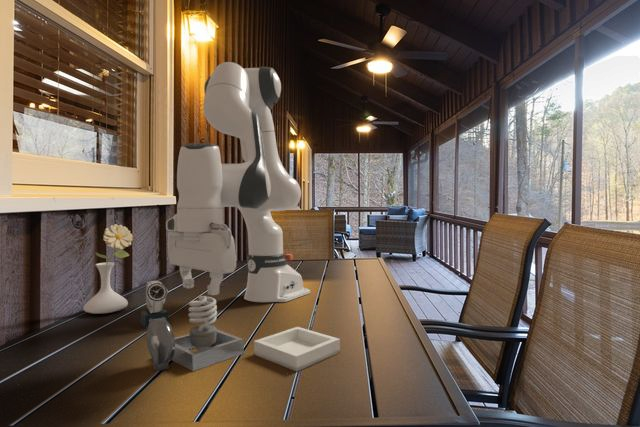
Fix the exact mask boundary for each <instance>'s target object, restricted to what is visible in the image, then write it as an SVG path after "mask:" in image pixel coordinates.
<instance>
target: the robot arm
mask: <svg viewBox="0 0 640 427" xmlns="http://www.w3.org/2000/svg"><path fill="white" fill-rule="evenodd" d="M203 86H204V98H203V103H202V104H203V106H202V109H203V110H202V111H203V115H204V117H205V119H206V120H207V122H208V123H209V125H210V126H211V127H213V128H214V129H215V130H216V131H218V132H219V133H222V134H225V135H227V136H232V137H236V138H238V139H239V141H240V149H241V156H242V160H243V161H244V162H242V163H222V157H221V151H220V150H221V149H220V147H219V145H217V144H214V143H211V142H210V143H209V142H208V143H206V142H205V143H186V144H184V145H182V146H181V147H180V149H179V153H178V154H179V155H178V160H177V168H176V169H177V172H176V188H177V191H178V201H177V205H176V214H174V215H173V216H172V217H170V218H169V219H167V220H165V230H166V231H168V233H167V256H168V258H167V259H168V260H169V263H170V265H173V266H178V267H179V273H180V276H181V279H182V286H183V288H185V289H188V290H189V289H193V288H194V287H195V279H194V278H193V277H192V271H193V270H198V271H203V272H208V273H209V278H211V279H210V283H209V284H208V285H207V289H206V290H207V295H210V296H217V295H219V294H220V286H221V284H222V281H223V278H224V274H230V273H231V274H232V273H234V271H235V270H236V268H237V256H236V255H237V254H236V253H237V252H236V244H235V238H234V237H233V235H232V230H230V228H229V227H228V225H227V224H225V223H224V221H223V220H224V219H223V214H224V212H223V208H225V207H226V208H227V207H228V208H229V207H231V208H237V209H238V210H239V211H240V214H241V215H242V217H243V220H244V222H245V225H246V230H247V244H248V254H247V256H246V257H247V258H246V259H247V260H246V262H247V266H246V267H247V271H248V272H247V274H248V275H247V282H246V288H245V293H244V296H243V299H244V300H246V301H247V302H248V301H249V302H252V303H253V302H254V303H286V302H289V301H292V300H295V299H298V298H301V297H303V296H306V295H309V294H311V290H310V289H309V288H307V287H304V281H303V278H302V275H301V274H300V273H299V272H298V271H297V270H296V269H294V268H293V267H291V266H290V265H289V264H288V261H292V260H293V259H294V257H293V254H291V253H286V254H285V253H284V240H283V239H284V238H283V237H284V232H283V230H282V227H281V226H280V225H279V224H277V223H276V222H275V221H274V219H273V217H272V213H271V212H282V211H287V210H292V209H294V208H296V207H297V206H298V204H299V203H300V201H301V197H302V190H301V187H300V184H299V183H298V181H297V180H296V179H295V178H293V177H292V176H291V175H290V174H289V173H288V171H287V170H286V168H285V167H284V166H283V163H282V161H281V159H280V155H279V151H278V147H277V146H278V145H277V139H276V133H275V125H274V120H273V116H272V112H271V111H272V109H273V108H274V105H276V104H277V103H278V101H279V99H280V98H281V92H282V82H281V80H280V77H279V75H278V73H277V71H276V70H275V69H274V68H273V67H270V66H269V67H268V66H260V67H249V68H248V67H245V68H243V67H242V66H241V65H240V64H238V63H236V62H233V61H231V62H230V61H225V62H222V63H219V64H218V65H217V66H216V67H215V68H214V70H213V72H212V73H211V75H210V76H209V77H208V78H207V79H206V81H205V82H204V85H203Z"/></svg>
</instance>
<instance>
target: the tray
mask: <svg viewBox="0 0 640 427" xmlns="http://www.w3.org/2000/svg"><path fill="white" fill-rule="evenodd" d="M340 353H341V339H340V338H338V337H335V336H331V335H327V334H324V333H320V332H317V331H314V330H311V329H307V328H303V327H301V326H295V327H292V328H289V329H286V330H283V331H280V332H277V333H275V334H270V335H268V336H264V337H262V338H259V339H255V340H253V355H254V356H256V357H259V358H261V359H264V360H267V361H270V363H275V364H277V365H279V366H282V367H284V368H287V369H288V370H292V371H295V372H299V371H301V370H303V369H306V368H308V367H310V366H312V365H315V364H318V363H320V362H321V361H325V360H326V359H328V358H331V357H333V356H335V355H338V354H340Z"/></svg>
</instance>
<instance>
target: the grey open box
mask: <svg viewBox="0 0 640 427" xmlns="http://www.w3.org/2000/svg"><path fill="white" fill-rule="evenodd" d="M216 329H217V336H216V342H215V343H214V344H213V345H214V346H213V345H212V346H210V348H207V349H204V350H200V351H197V350H196V351H193V349H195V348H196V349H197V347H194V346H192V345H191V343H190V333H187V334H184V335H183V334H182V335H179V336H177V337H175V334H174V331H173V328H172V326H171V324H170V323H169V320H168V321H167V320H166V319H163V318H161V319H157V320H153V321H151V322H150V323H149V325H148V328H146V343H147V344H146V345H147V348H148V353H149V355H150V357H151V359H152V365H153V367H152V368H154V370H156V371H157V372H161V371H165V370H167V369H169V362H170V361H173V362H174V363H176V364H178V365H180V366H182V367H183V368H186V369H188V370H190V371H192V372H195V371H197V370H201V369H203V368H206V367H209V366H212V365H214V364H218V363H221V362H224V361H226V360H229V359H232V358H236V357H238V356H241V355H244V354H245V352H244V350H245V347H244V345H245V344H244V343H245V342H244V340H245V339H244V338H241V337H239V336H236V335H233V334H230V333H228V332H227V331H223V330H220V329H218V328H216ZM192 348H193V349H192ZM189 349H190V350H189Z"/></svg>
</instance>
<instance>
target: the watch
mask: <svg viewBox="0 0 640 427" xmlns="http://www.w3.org/2000/svg"><path fill="white" fill-rule="evenodd" d="M168 294H169V290H168V288H167V287H166V286H165V285H164V284H163V283H162V281H159V280H150V281H147V282H146V286H145V303H146V307H147V309H148V310H146V311H145V310H144V311H141V312H140V325H141V326H142V327H144V328H145V329H147V328H146V327H148V325H149V323H150V322H151V321H153V320H157V319H161V318H163V319H166V320H167V321H168V322H169V312H168V310H166V309H165V308H163V306H164V304H165V302H166V297H167V295H168Z"/></svg>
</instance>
